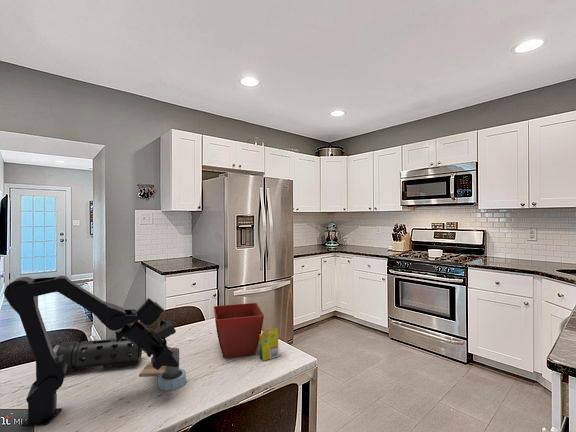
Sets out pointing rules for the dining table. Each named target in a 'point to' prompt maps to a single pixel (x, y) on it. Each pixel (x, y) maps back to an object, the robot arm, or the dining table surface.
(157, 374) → the mat
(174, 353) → the plug
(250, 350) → the plant pot
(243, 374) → the dining table surface
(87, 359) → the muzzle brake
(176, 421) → the dining table surface
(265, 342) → the crayon box
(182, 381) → the collar
